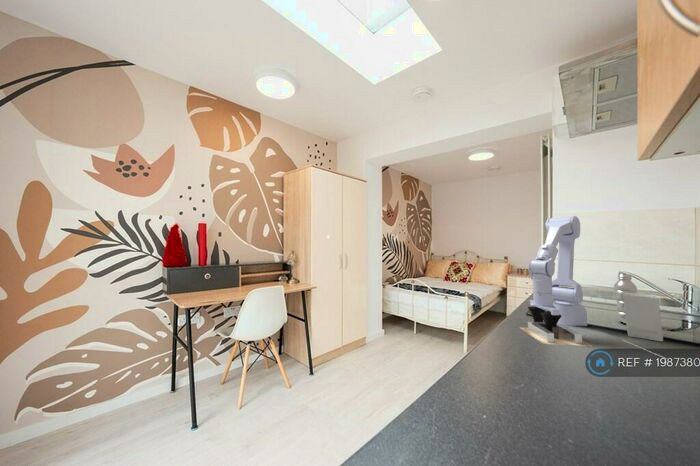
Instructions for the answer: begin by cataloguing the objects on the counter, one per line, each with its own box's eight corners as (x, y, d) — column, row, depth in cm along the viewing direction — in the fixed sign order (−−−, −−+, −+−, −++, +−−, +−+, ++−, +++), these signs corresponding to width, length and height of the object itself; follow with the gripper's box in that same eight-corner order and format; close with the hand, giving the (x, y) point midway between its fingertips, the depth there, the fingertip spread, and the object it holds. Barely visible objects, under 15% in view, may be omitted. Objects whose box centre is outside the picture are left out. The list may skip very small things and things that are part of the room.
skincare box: (661, 337, 88) (658, 294, 88) (663, 342, 83) (660, 297, 84) (625, 331, 94) (623, 291, 94) (626, 336, 89) (623, 294, 90)
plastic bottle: (645, 326, 98) (642, 275, 99) (624, 326, 100) (621, 275, 100) (630, 321, 105) (627, 273, 105) (611, 321, 106) (608, 273, 107)
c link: (558, 330, 93) (557, 322, 93) (582, 343, 81) (581, 334, 81) (528, 329, 94) (527, 321, 94) (547, 342, 82) (546, 333, 83)
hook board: (559, 331, 95) (559, 319, 95) (593, 349, 79) (592, 334, 79) (519, 330, 97) (518, 318, 97) (543, 347, 81) (542, 332, 81)
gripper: (521, 288, 101) (522, 322, 100) (542, 296, 87) (543, 336, 86) (540, 288, 100) (542, 323, 99) (565, 296, 85) (567, 337, 85)
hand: (544, 329), depth 92 cm, fingers open, 6 cm apart
